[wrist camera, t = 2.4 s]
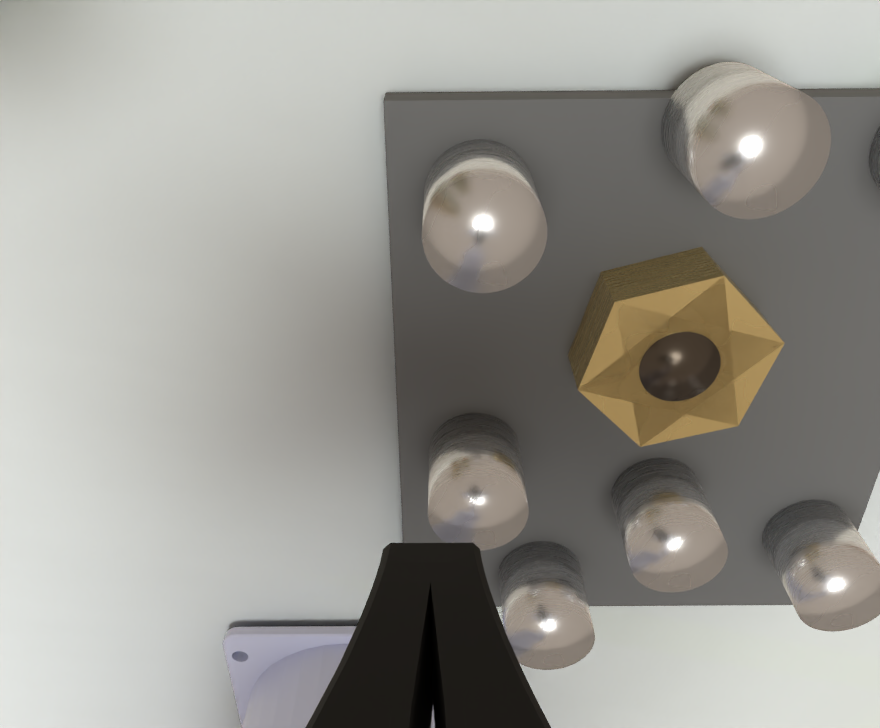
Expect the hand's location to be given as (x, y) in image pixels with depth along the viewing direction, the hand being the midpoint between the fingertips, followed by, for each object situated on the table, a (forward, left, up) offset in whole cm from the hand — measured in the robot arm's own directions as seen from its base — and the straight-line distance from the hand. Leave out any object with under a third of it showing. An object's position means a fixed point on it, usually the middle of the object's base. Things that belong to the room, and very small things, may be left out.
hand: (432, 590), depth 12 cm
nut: (0, -5, -8) cm, 10 cm away
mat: (-2, -5, -9) cm, 11 cm away
